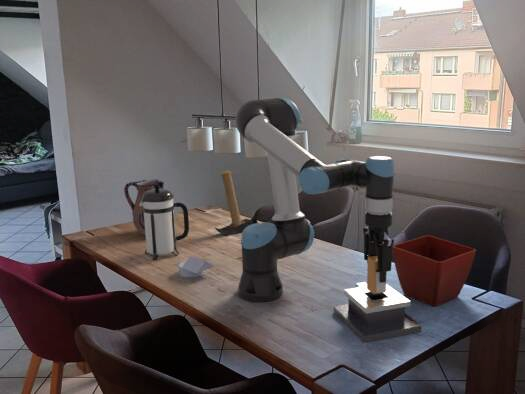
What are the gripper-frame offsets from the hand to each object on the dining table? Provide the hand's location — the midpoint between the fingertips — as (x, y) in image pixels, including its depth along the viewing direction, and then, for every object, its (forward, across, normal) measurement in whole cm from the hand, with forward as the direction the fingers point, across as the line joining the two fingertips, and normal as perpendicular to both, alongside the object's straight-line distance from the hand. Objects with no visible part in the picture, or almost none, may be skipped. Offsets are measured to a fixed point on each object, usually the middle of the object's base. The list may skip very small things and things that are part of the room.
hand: (376, 288), depth 154 cm
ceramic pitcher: (+11, +115, +55) cm, 128 cm away
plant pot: (+11, +10, -26) cm, 30 cm away
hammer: (+11, +102, +16) cm, 104 cm away
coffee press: (+11, +84, +52) cm, 99 cm away
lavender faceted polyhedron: (+11, +57, +44) cm, 73 cm away
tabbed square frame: (+11, 0, 0) cm, 11 cm away
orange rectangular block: (+1, 0, 0) cm, 1 cm away
